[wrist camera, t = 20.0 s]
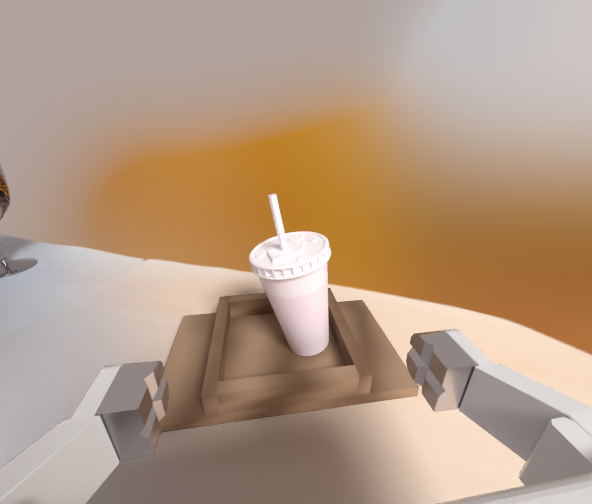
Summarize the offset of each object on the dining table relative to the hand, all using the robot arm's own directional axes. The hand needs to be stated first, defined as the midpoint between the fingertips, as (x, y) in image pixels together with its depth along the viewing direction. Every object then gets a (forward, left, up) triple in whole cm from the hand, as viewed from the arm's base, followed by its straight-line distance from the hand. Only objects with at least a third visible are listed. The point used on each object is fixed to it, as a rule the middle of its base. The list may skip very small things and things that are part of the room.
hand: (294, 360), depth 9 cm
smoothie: (+3, +13, -11) cm, 17 cm away
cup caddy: (+1, +13, -12) cm, 18 cm away
